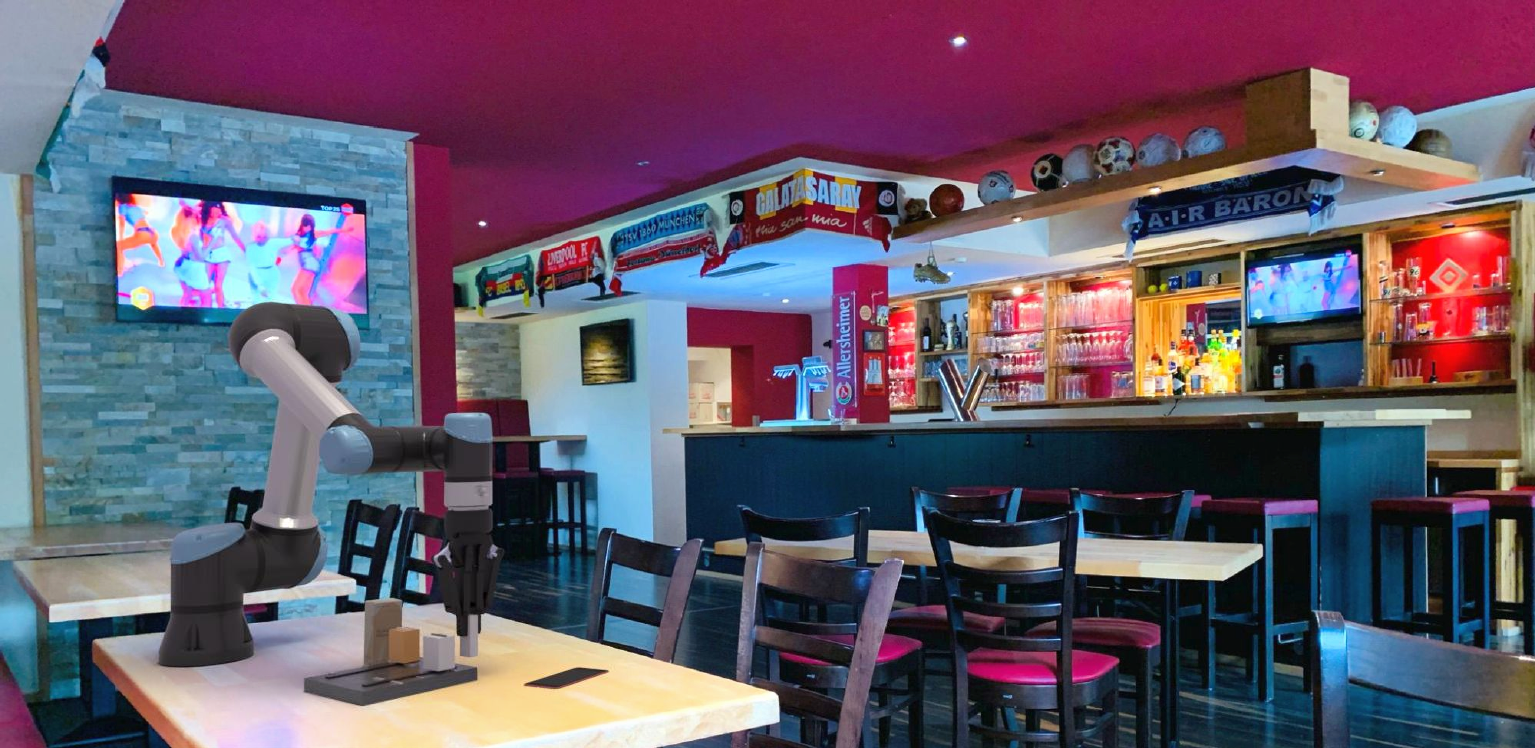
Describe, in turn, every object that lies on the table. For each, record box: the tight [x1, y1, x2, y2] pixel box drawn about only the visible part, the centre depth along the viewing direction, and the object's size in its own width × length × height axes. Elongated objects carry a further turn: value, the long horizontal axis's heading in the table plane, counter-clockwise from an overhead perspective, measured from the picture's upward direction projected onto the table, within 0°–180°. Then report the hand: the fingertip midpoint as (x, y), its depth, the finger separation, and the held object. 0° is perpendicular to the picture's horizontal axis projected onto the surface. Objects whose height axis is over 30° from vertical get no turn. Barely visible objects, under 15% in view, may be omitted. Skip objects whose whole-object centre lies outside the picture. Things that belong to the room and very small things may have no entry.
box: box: [363, 597, 403, 666], centre depth 187 cm, size 5×4×11 cm
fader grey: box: [422, 632, 456, 671], centre depth 172 cm, size 4×3×5 cm
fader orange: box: [389, 626, 421, 663], centre depth 179 cm, size 4×3×5 cm
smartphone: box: [523, 666, 610, 690], centre depth 174 cm, size 7×1×14 cm
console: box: [303, 656, 478, 707], centre depth 171 cm, size 17×20×2 cm
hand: (468, 655), depth 177 cm, fingers closed
